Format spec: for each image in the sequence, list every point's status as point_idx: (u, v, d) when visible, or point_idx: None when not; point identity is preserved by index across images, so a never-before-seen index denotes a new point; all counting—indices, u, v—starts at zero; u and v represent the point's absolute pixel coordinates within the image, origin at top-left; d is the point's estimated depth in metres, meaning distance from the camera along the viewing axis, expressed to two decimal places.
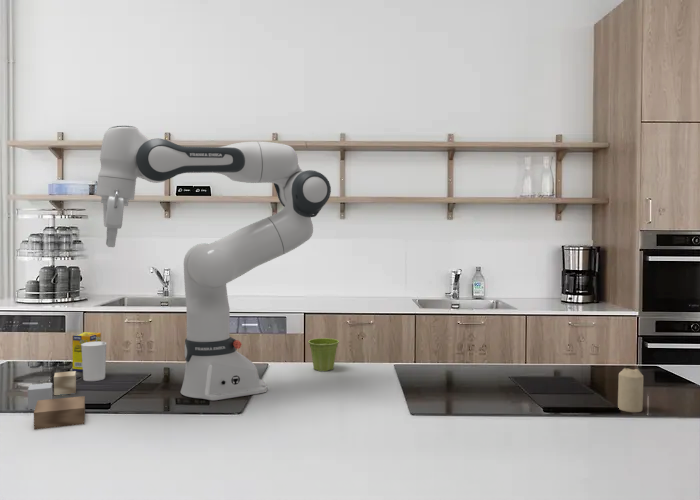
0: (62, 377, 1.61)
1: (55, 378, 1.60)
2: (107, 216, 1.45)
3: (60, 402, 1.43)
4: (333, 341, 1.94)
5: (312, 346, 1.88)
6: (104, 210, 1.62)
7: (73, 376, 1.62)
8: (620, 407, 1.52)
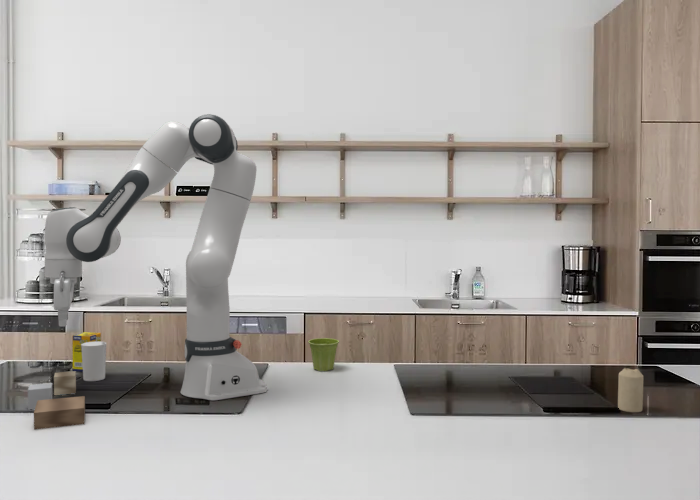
0: (62, 377, 1.61)
1: (55, 378, 1.60)
2: (54, 300, 1.53)
3: (60, 402, 1.43)
4: (333, 341, 1.94)
5: (312, 346, 1.88)
6: None
7: (73, 376, 1.62)
8: (620, 407, 1.52)
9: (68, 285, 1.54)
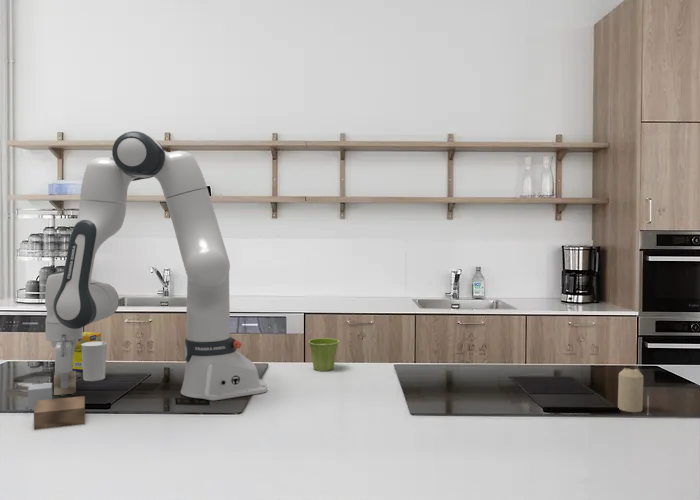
0: None
1: (55, 378, 1.60)
2: (56, 365, 1.53)
3: (60, 402, 1.43)
4: (333, 341, 1.94)
5: (312, 346, 1.88)
6: None
7: (73, 376, 1.62)
8: (620, 407, 1.52)
9: (69, 350, 1.55)
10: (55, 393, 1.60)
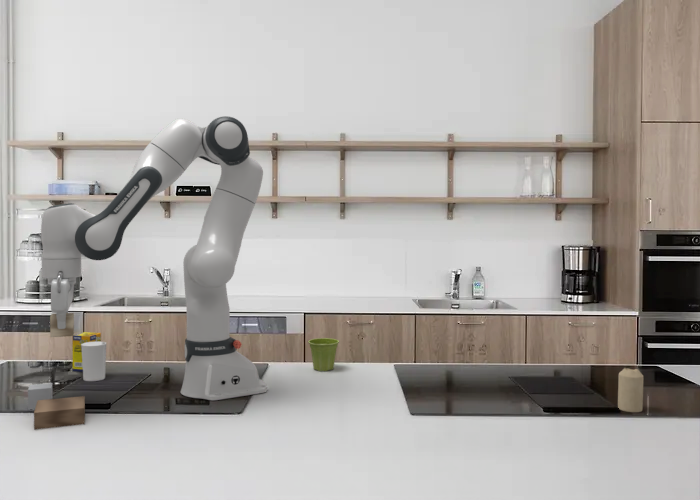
0: None
1: (51, 318, 1.50)
2: (51, 302, 1.43)
3: (60, 402, 1.43)
4: (333, 341, 1.94)
5: (312, 346, 1.88)
6: None
7: (71, 316, 1.52)
8: (620, 407, 1.52)
9: (66, 286, 1.45)
10: (51, 334, 1.50)
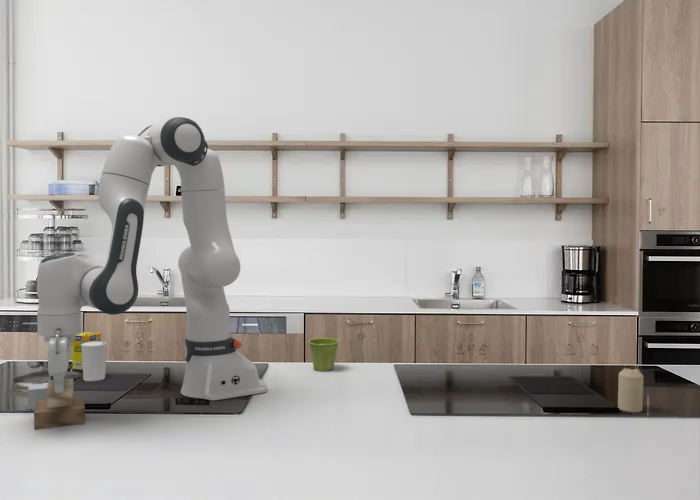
0: None
1: (49, 387, 1.38)
2: (49, 364, 1.31)
3: None
4: (333, 341, 1.94)
5: (312, 346, 1.88)
6: None
7: (70, 384, 1.40)
8: (620, 407, 1.52)
9: (65, 346, 1.32)
10: (49, 405, 1.38)
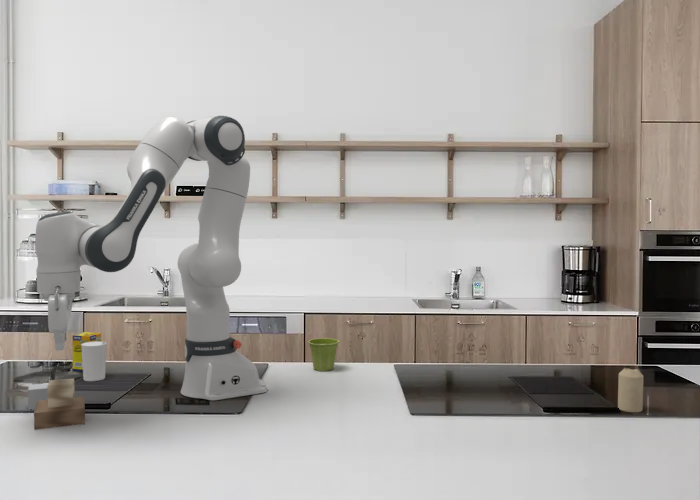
0: (57, 386, 1.39)
1: (49, 387, 1.38)
2: (49, 321, 1.31)
3: None
4: (333, 341, 1.94)
5: (312, 346, 1.88)
6: None
7: (70, 384, 1.39)
8: (620, 407, 1.52)
9: (64, 303, 1.32)
10: (49, 405, 1.38)
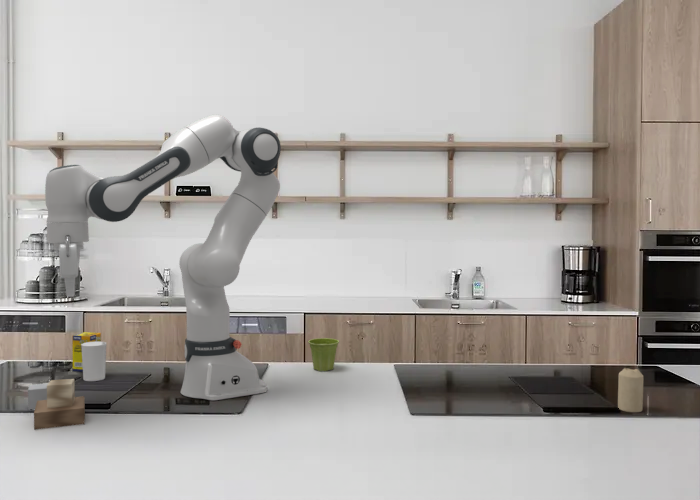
0: (56, 386, 1.38)
1: (48, 387, 1.38)
2: (60, 266, 1.37)
3: None
4: (333, 341, 1.94)
5: (312, 346, 1.88)
6: None
7: (69, 385, 1.39)
8: (620, 407, 1.52)
9: (75, 249, 1.38)
10: (48, 405, 1.38)
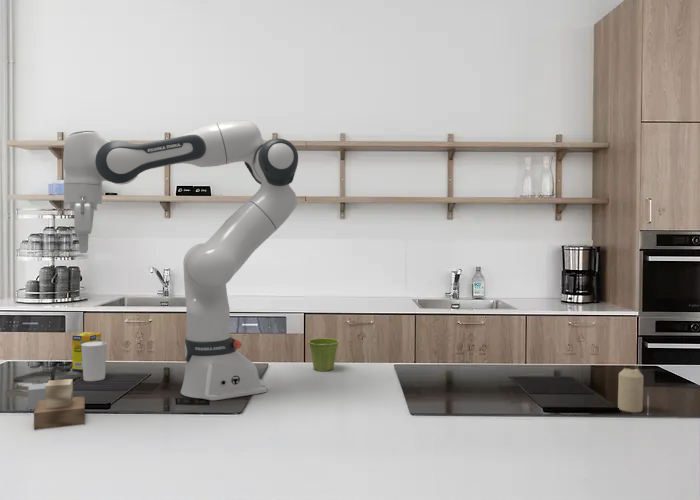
0: (55, 386, 1.38)
1: (47, 387, 1.38)
2: (75, 223, 1.47)
3: None
4: (333, 341, 1.94)
5: (312, 346, 1.88)
6: None
7: (68, 385, 1.39)
8: (620, 407, 1.52)
9: (89, 208, 1.49)
10: (47, 405, 1.38)
